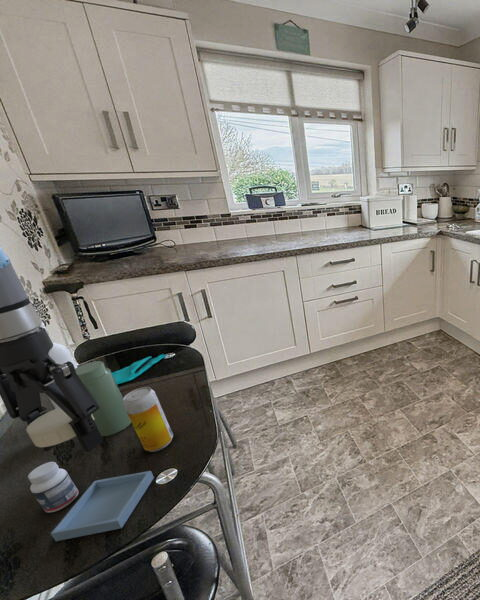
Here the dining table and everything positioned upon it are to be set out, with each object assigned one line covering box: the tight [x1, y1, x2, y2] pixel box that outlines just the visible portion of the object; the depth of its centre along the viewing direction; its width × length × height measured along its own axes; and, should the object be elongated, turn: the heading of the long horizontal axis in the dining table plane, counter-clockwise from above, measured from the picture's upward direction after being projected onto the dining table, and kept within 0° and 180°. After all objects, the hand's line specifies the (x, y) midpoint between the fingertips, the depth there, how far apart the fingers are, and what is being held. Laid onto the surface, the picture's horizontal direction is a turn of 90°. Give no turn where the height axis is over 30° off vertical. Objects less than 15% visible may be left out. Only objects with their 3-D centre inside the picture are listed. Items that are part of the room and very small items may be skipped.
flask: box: [75, 360, 132, 437], centre depth 85 cm, size 8×8×18 cm
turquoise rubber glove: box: [111, 353, 167, 385], centre depth 114 cm, size 26×14×2 cm, turn 132°
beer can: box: [123, 386, 174, 453], centre depth 78 cm, size 6×6×15 cm
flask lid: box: [25, 407, 95, 448], centre depth 58 cm, size 8×8×3 cm
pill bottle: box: [27, 461, 79, 514], centre depth 66 cm, size 5×5×9 cm
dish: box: [50, 470, 155, 542], centre depth 65 cm, size 11×11×2 cm
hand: (74, 445), depth 60 cm, fingers closed on flask lid, 8 cm apart
